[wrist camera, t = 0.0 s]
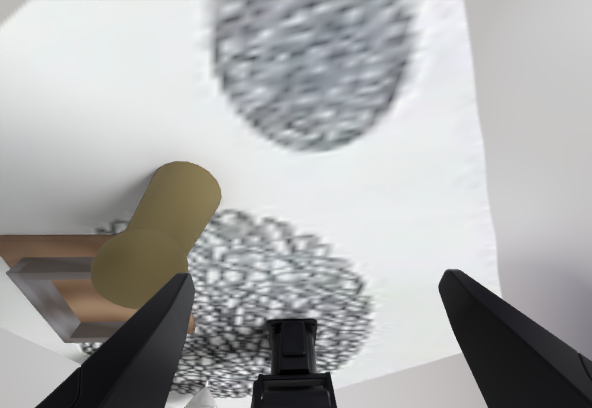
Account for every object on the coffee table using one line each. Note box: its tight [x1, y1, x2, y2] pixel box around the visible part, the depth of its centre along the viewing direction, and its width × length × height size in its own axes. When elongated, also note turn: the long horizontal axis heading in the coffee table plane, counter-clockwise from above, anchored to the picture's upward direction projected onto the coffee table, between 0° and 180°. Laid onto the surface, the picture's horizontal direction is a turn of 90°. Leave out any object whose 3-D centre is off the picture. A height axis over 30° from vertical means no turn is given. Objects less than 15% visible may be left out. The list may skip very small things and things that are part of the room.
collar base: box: [0, 235, 196, 343], centre depth 29 cm, size 16×16×3 cm
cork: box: [91, 161, 221, 309], centre depth 19 cm, size 6×6×11 cm
